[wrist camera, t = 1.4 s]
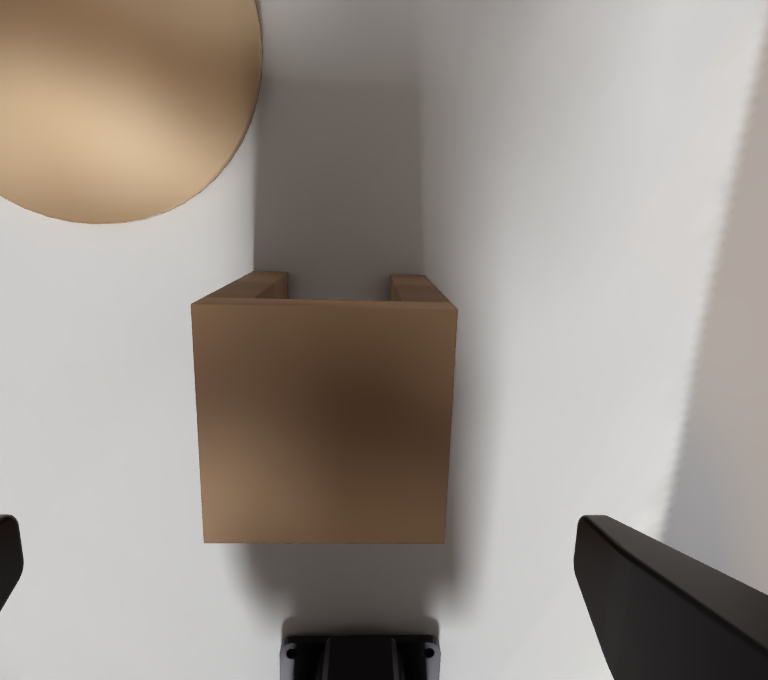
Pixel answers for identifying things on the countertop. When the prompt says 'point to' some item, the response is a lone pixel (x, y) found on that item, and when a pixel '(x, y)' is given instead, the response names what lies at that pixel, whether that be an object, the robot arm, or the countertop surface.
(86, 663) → the countertop surface
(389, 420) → the tan block with prongs
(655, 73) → the countertop surface
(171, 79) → the trivet
